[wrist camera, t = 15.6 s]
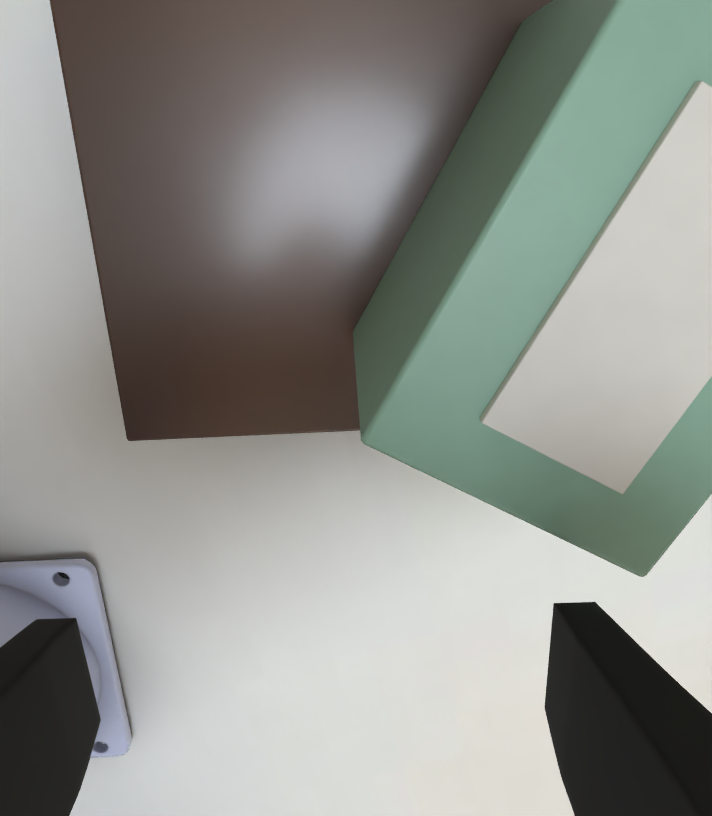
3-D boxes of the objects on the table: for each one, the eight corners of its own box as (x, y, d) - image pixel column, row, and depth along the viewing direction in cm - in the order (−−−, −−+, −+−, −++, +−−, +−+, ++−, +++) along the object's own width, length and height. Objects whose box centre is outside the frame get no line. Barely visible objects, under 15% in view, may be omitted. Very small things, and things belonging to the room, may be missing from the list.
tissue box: (727, 150, 14) (1002, 151, 8) (537, 429, 16) (649, 587, 10) (523, 18, 13) (671, -86, 7) (351, 333, 15) (358, 448, 9)
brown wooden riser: (166, 385, 20) (126, 442, 16) (107, -14, 16) (37, -62, 12) (715, 361, 20) (804, 411, 16) (780, -40, 16) (913, -97, 12)
